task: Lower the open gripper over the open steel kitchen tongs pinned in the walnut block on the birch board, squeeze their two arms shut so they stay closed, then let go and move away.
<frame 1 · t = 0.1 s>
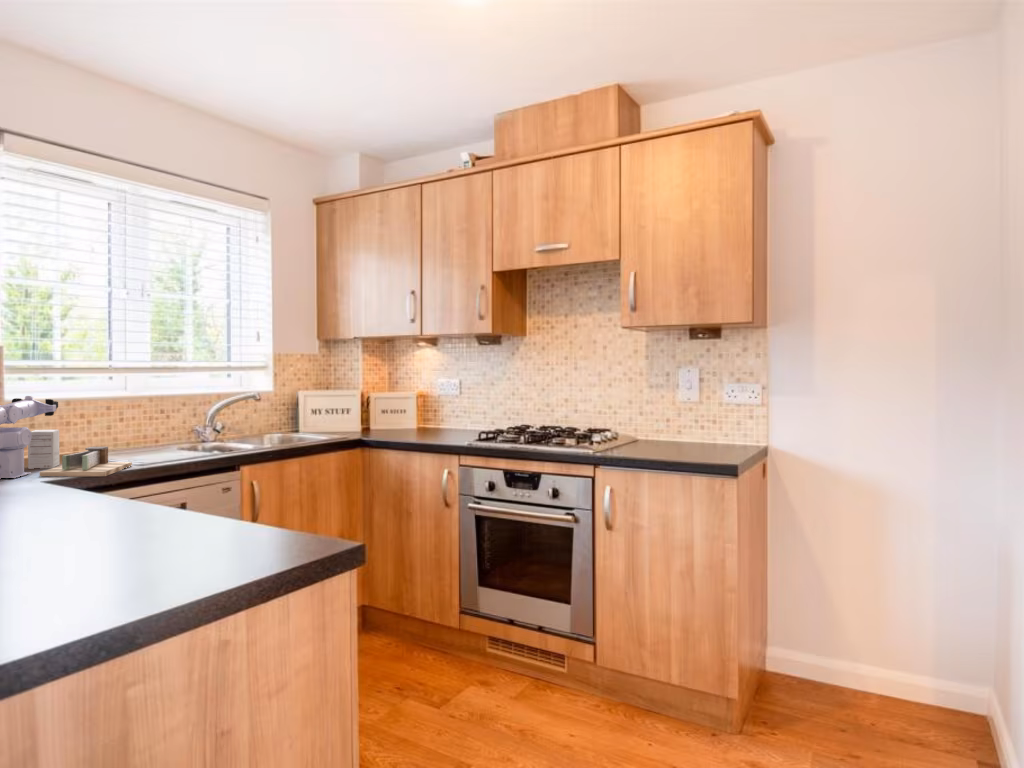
hand: (44, 404, 216), 22 cm above the worktop, tool horizontal, fingers open, 7 cm apart
tong arm b: (79, 459, 208), point 4 cm above the worktop, hinge at -9.0°
tong board: (88, 471, 209), on the worktop
supplement box: (43, 467, 216), on the worktop
tong arm a: (91, 459, 208), point 4 cm above the worktop, hinge at 9.0°
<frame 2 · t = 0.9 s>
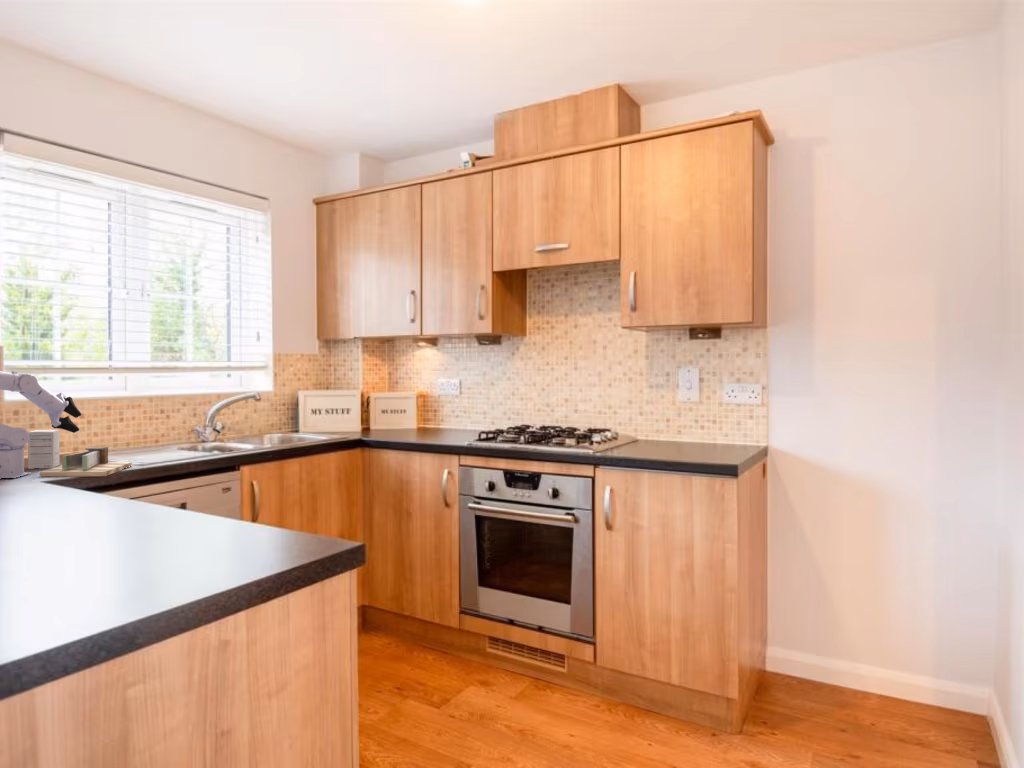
hand: (77, 423, 216), 15 cm above the worktop, tool tilted 50°, fingers open, 7 cm apart
nothing on the worktop moved.
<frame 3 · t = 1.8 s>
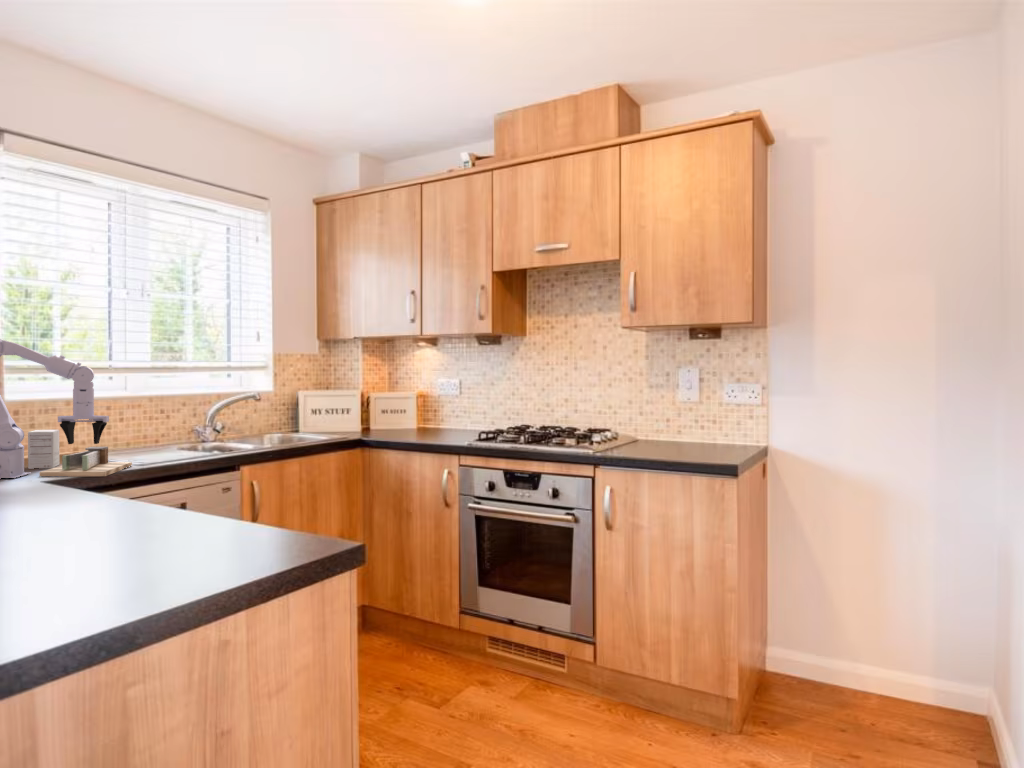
hand: (83, 443, 207), 9 cm above the worktop, tool pointing down, fingers open, 7 cm apart
nothing on the worktop moved.
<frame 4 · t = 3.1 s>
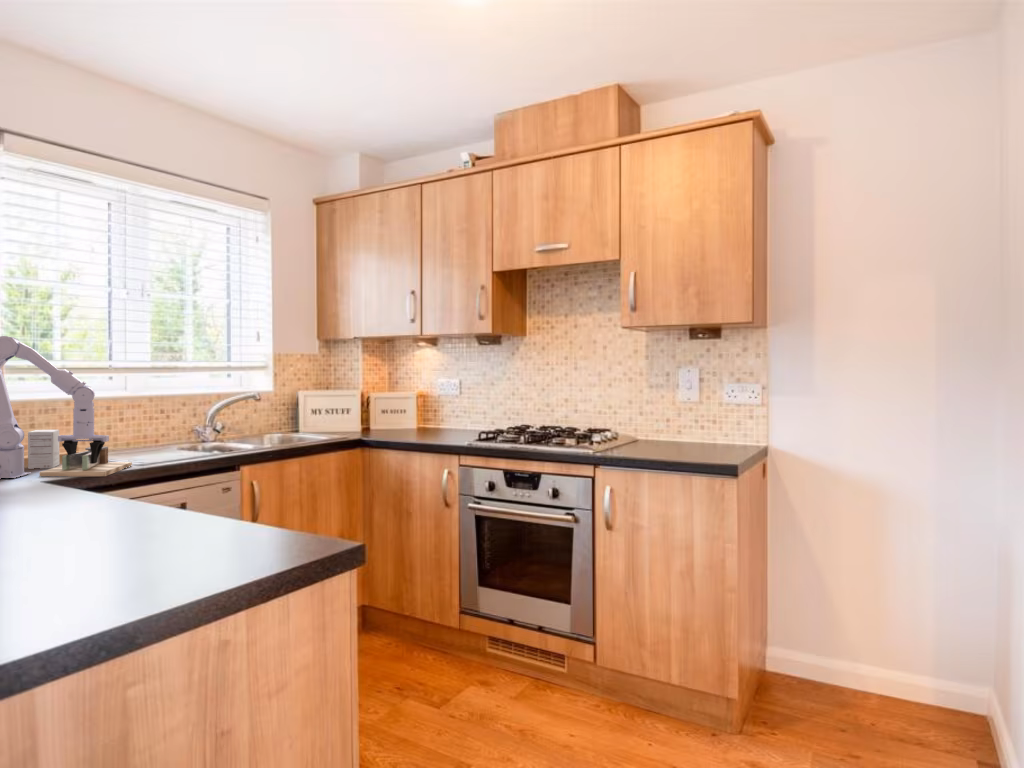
hand: (83, 463, 207), 3 cm above the worktop, tool pointing down, fingers open, 6 cm apart
tong arm b: (79, 459, 208), point 4 cm above the worktop, hinge at -9.0°, touching gripper
tong arm a: (91, 459, 208), point 4 cm above the worktop, hinge at 9.0°, touching gripper
everything else where it was.
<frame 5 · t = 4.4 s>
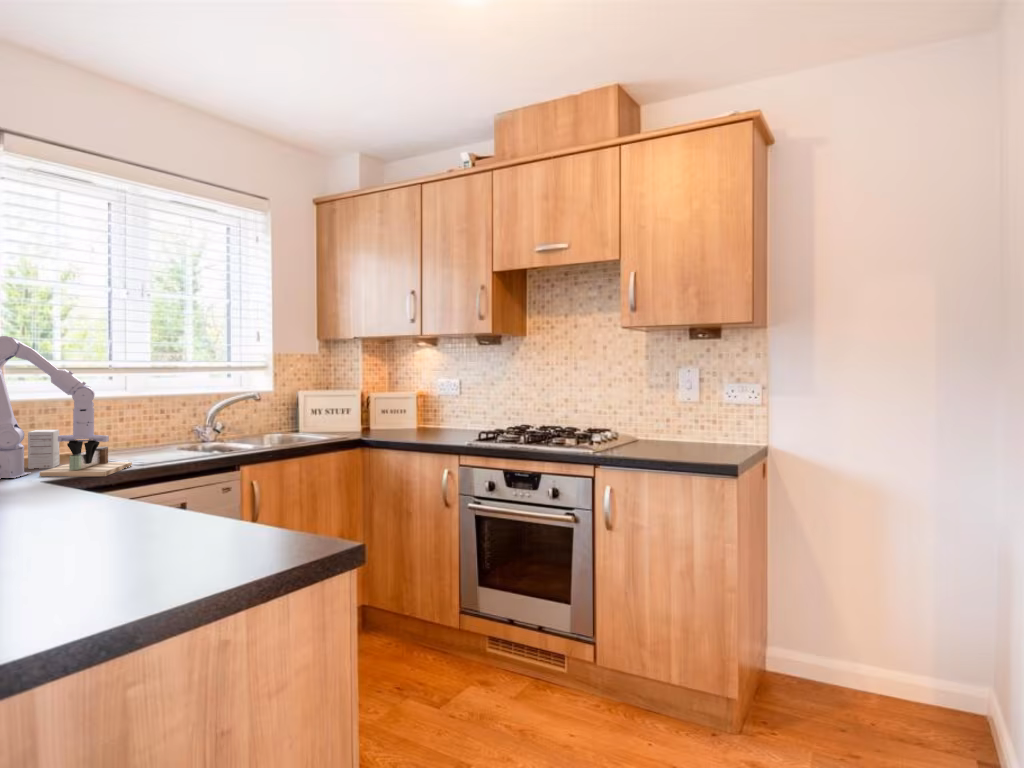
hand: (83, 463, 207), 3 cm above the worktop, tool pointing down, fingers open, 3 cm apart
tong arm b: (82, 459, 208), point 4 cm above the worktop, hinge at 0.3°, touching gripper
tong arm a: (87, 459, 208), point 4 cm above the worktop, hinge at -0.4°, touching gripper
everything else where it was.
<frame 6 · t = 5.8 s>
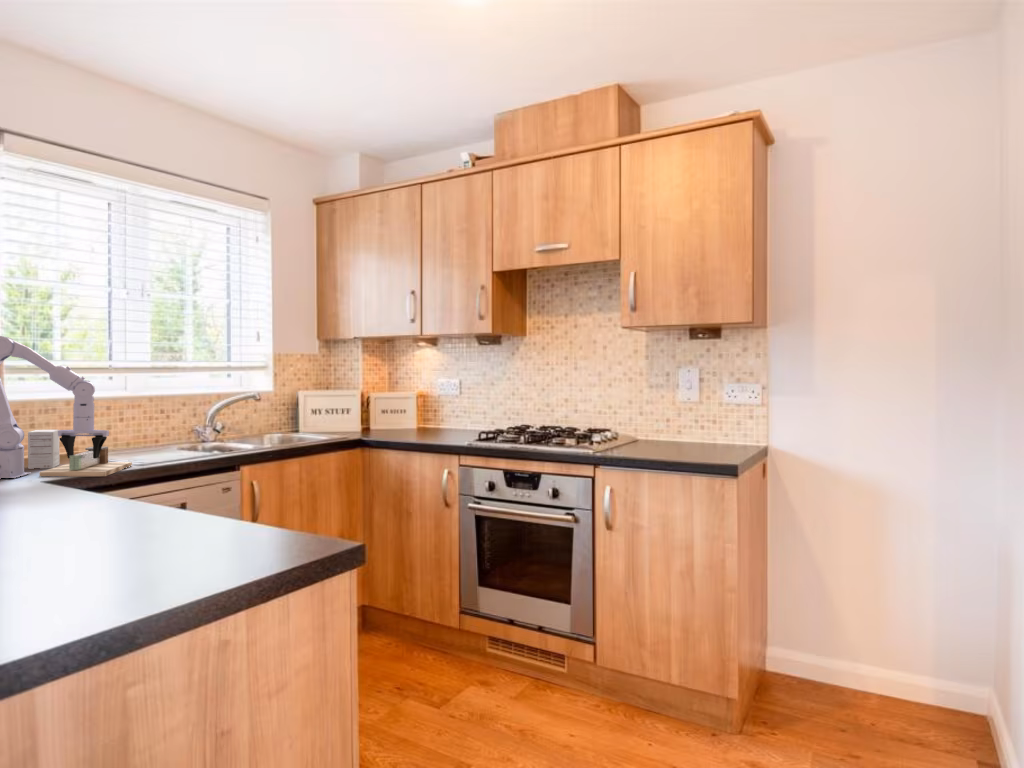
hand: (83, 458, 207), 5 cm above the worktop, tool pointing down, fingers open, 7 cm apart
tong arm b: (82, 459, 208), point 4 cm above the worktop, hinge at 0.3°
tong arm a: (87, 459, 208), point 4 cm above the worktop, hinge at -0.4°
everything else where it was.
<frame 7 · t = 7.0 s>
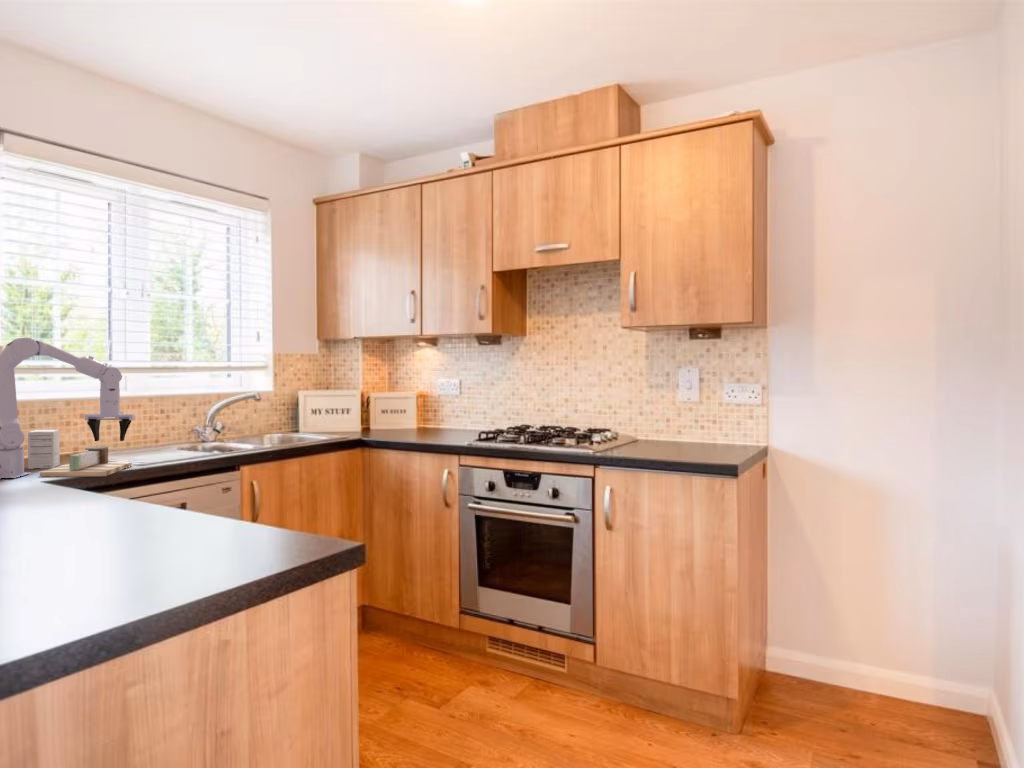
hand: (109, 440, 216), 9 cm above the worktop, tool pointing down, fingers open, 7 cm apart
nothing on the worktop moved.
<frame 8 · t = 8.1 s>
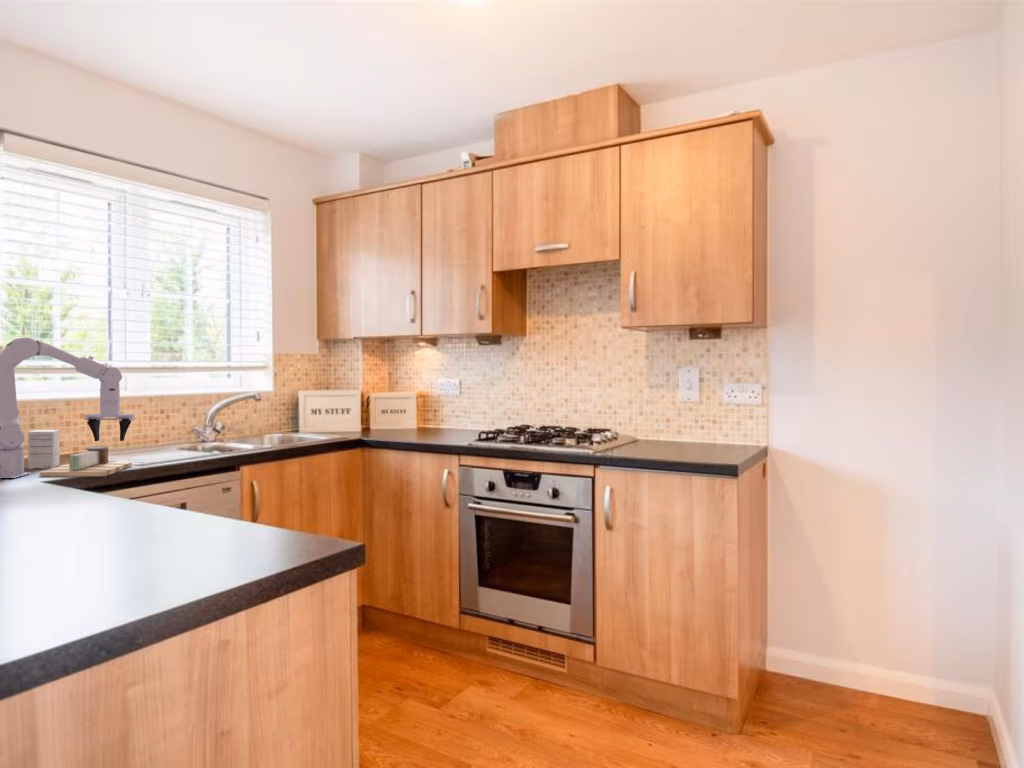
hand: (109, 440, 216), 9 cm above the worktop, tool pointing down, fingers open, 7 cm apart
nothing on the worktop moved.
at the end: tong arm a at +0° (first picture: +9°); tong arm b at +0° (first picture: -9°); the gripper is holding nothing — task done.
